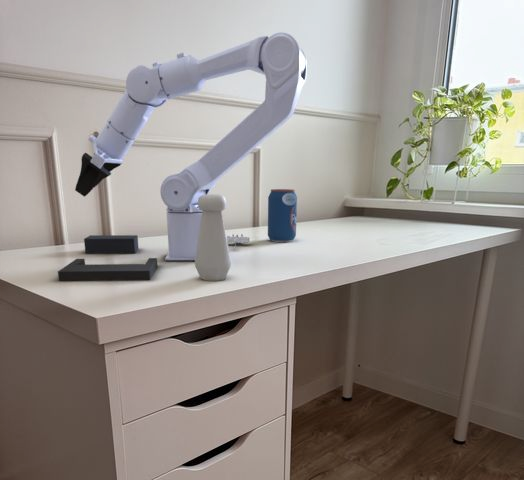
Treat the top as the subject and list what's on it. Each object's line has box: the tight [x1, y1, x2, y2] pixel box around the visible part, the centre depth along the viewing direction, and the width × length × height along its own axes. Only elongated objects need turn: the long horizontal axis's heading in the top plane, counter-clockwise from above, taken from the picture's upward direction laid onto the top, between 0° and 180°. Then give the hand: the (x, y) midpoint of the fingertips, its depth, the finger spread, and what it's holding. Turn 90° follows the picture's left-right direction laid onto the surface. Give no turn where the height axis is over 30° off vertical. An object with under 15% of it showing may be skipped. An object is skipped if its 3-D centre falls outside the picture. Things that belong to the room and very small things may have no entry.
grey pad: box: [83, 234, 139, 255], centre depth 108 cm, size 10×6×3 cm, turn 95°
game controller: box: [226, 233, 250, 248], centre depth 117 cm, size 6×12×3 cm, turn 15°
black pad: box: [57, 257, 158, 282], centre depth 86 cm, size 14×12×2 cm
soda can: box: [267, 188, 298, 243], centre depth 125 cm, size 7×7×12 cm
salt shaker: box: [194, 193, 232, 282], centre depth 81 cm, size 6×6×13 cm
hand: (85, 188), depth 101 cm, fingers open, 7 cm apart
